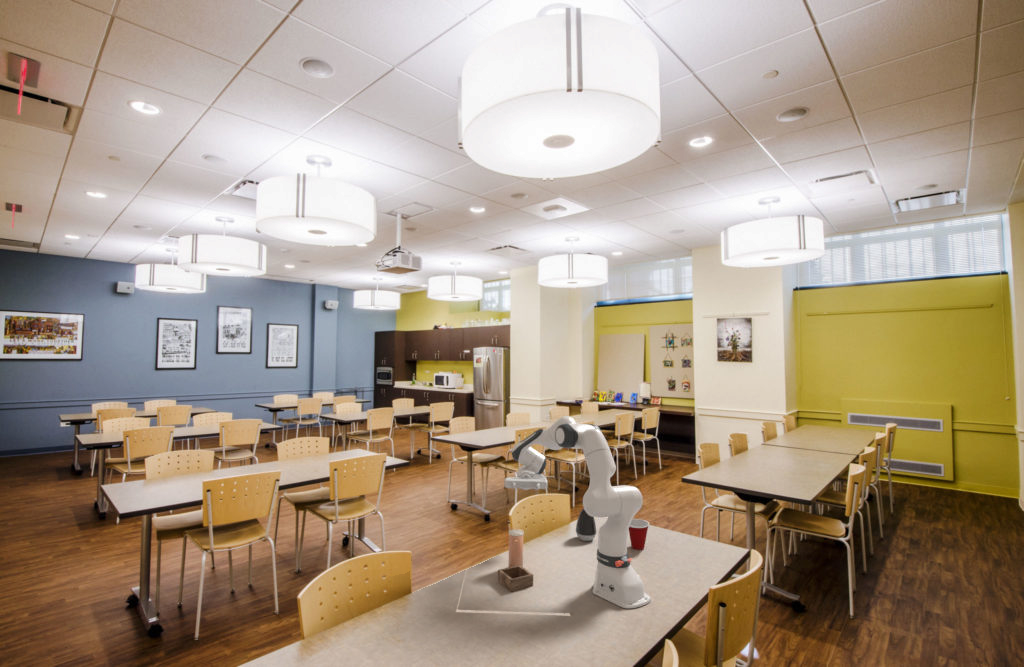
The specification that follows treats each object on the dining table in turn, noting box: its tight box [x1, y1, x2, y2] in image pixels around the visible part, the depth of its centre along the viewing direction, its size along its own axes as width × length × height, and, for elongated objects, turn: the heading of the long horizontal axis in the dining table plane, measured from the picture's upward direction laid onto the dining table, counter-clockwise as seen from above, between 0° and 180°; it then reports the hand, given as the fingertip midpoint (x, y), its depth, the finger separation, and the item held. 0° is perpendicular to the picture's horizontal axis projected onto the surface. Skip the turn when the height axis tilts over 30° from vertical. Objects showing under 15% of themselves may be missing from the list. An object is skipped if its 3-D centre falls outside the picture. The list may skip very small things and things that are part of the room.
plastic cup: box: [628, 518, 650, 551], centre depth 227 cm, size 11×11×12 cm
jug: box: [507, 528, 524, 568], centre depth 197 cm, size 9×6×16 cm
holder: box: [497, 565, 534, 593], centre depth 185 cm, size 10×10×5 cm
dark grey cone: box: [575, 508, 597, 542], centre depth 236 cm, size 10×10×15 cm
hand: (526, 487), depth 217 cm, fingers open, 8 cm apart
